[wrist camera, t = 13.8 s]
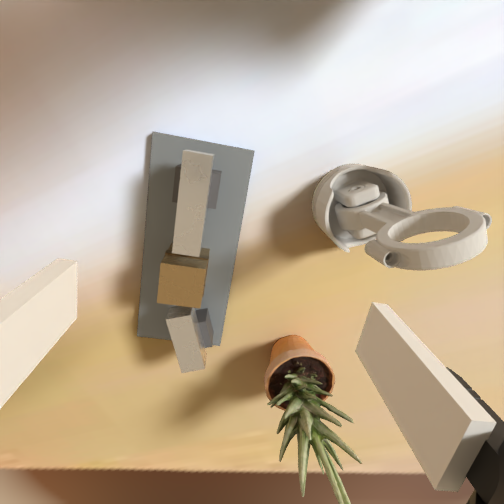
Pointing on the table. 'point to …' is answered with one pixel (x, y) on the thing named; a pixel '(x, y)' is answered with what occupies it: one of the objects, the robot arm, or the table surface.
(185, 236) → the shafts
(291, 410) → the potted plant
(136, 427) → the table surface
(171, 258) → the tan cardboard block
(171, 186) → the shaft bench
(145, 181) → the table surface
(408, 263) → the engine component
